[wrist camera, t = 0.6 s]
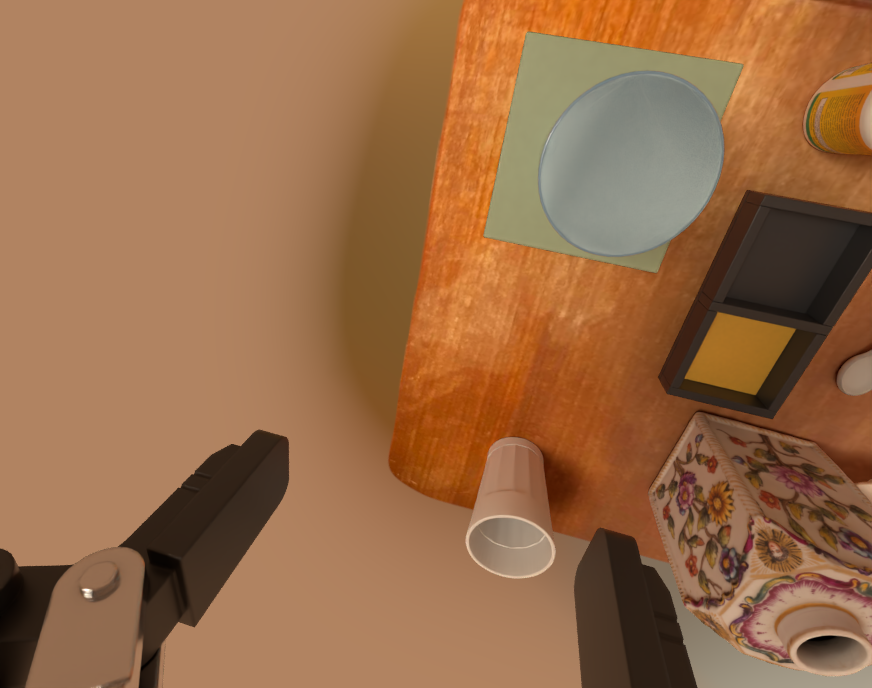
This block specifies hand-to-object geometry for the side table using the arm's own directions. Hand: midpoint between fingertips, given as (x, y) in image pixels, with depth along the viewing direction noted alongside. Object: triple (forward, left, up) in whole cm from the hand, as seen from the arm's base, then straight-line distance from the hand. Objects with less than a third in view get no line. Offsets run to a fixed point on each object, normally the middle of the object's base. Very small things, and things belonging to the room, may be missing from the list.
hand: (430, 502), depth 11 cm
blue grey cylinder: (-8, +4, -17) cm, 20 cm away
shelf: (-8, +4, -31) cm, 33 cm away
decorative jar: (+18, +27, -31) cm, 45 cm away
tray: (+1, +22, -31) cm, 38 cm away
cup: (+24, +7, -32) cm, 40 cm away
